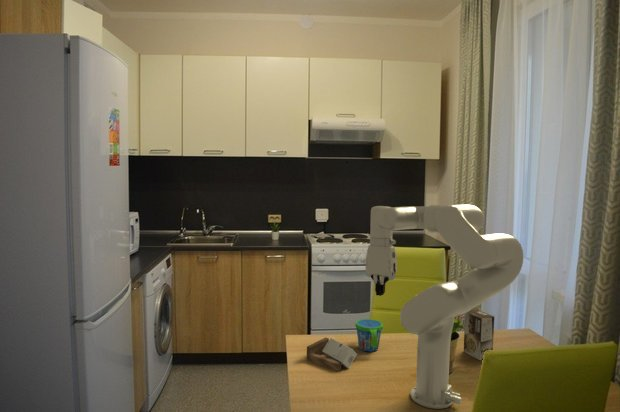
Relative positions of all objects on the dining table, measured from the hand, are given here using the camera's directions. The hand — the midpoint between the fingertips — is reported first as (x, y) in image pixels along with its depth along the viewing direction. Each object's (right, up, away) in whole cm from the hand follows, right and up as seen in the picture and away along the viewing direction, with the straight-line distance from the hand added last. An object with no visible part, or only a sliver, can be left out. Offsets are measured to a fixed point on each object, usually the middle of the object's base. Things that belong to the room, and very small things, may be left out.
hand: (380, 294), depth 148 cm
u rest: (-16, -26, +8) cm, 31 cm away
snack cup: (-1, -25, +20) cm, 32 cm away
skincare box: (-10, -23, +2) cm, 25 cm away
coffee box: (+40, -26, +15) cm, 50 cm away
